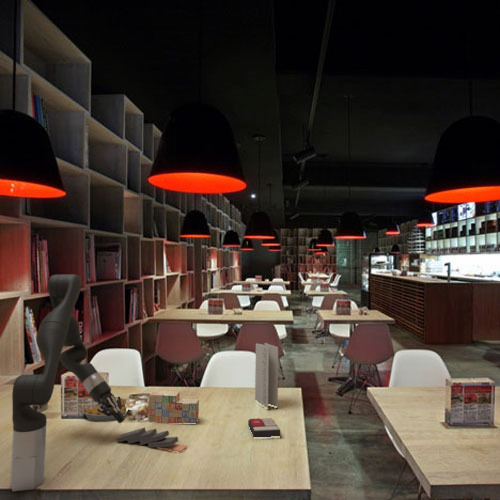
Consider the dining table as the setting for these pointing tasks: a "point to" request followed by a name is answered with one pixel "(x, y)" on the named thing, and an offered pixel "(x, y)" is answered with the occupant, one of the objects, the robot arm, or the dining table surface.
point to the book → (263, 427)
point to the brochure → (266, 374)
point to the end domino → (174, 447)
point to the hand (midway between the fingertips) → (122, 421)
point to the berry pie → (98, 416)
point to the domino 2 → (143, 436)
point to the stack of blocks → (172, 408)
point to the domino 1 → (131, 435)
